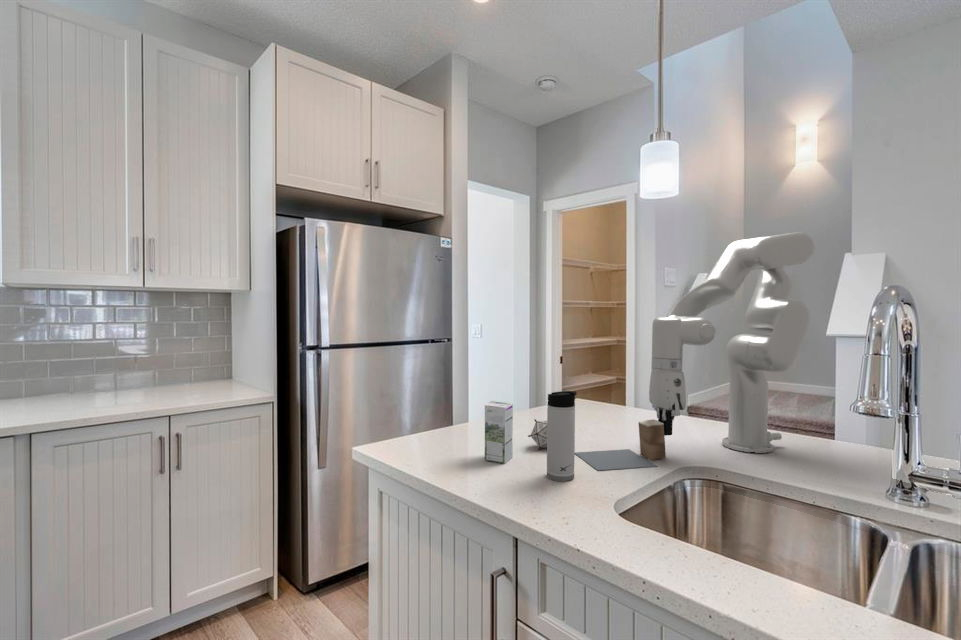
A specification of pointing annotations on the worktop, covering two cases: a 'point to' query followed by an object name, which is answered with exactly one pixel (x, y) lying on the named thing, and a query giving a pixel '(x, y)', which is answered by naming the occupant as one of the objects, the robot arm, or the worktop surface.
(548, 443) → the travel mug
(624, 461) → the mat
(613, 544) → the worktop surface
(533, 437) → the game die
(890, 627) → the worktop surface
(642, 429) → the pillar block
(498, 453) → the syrup box
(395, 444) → the worktop surface
